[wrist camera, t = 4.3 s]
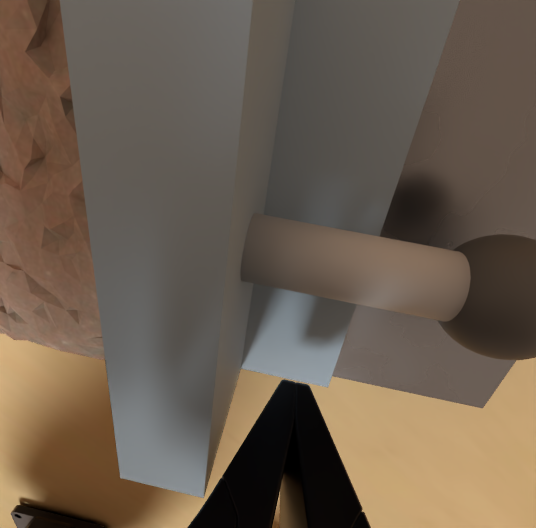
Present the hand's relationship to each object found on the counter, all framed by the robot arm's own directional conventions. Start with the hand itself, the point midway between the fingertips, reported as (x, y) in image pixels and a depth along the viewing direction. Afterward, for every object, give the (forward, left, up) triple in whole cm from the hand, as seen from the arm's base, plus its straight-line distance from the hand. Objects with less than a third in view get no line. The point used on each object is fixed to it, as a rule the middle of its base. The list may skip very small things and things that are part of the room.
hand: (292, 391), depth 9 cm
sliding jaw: (+5, 0, -2) cm, 5 cm away
